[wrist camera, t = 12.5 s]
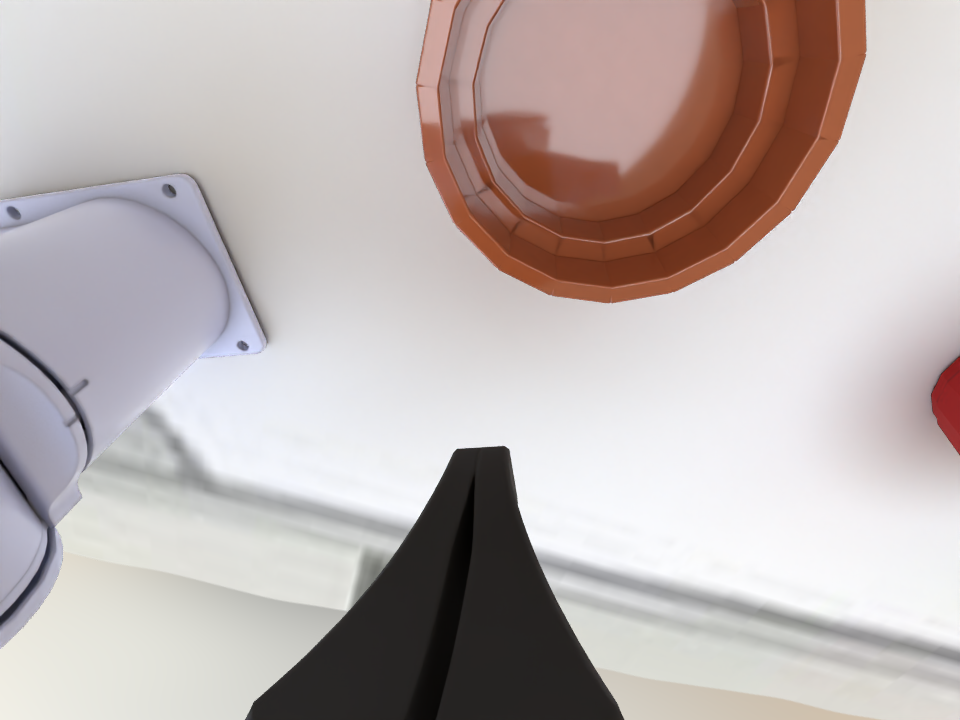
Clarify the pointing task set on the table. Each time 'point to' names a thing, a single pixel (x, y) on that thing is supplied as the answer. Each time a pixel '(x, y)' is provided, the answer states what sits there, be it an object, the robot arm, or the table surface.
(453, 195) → the bowl
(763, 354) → the table surface
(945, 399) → the plastic cup
